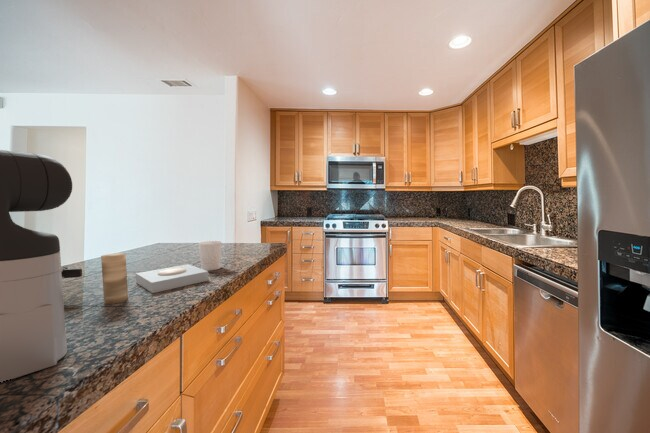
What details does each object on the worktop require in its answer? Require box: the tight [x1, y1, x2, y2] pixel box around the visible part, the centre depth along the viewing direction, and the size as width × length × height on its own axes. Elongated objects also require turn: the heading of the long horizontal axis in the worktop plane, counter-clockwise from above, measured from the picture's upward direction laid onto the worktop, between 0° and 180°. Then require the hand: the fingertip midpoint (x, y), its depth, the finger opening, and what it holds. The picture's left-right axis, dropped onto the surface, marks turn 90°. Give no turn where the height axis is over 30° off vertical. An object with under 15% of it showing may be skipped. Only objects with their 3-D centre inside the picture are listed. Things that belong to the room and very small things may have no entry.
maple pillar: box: [100, 252, 129, 305], centre depth 71 cm, size 5×5×12 cm
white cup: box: [198, 240, 222, 272], centre depth 104 cm, size 8×8×10 cm
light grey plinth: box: [135, 263, 210, 294], centre depth 88 cm, size 16×16×3 cm
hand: (70, 276), depth 69 cm, fingers open, 8 cm apart
